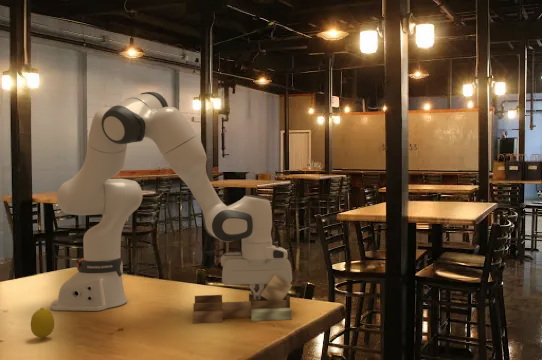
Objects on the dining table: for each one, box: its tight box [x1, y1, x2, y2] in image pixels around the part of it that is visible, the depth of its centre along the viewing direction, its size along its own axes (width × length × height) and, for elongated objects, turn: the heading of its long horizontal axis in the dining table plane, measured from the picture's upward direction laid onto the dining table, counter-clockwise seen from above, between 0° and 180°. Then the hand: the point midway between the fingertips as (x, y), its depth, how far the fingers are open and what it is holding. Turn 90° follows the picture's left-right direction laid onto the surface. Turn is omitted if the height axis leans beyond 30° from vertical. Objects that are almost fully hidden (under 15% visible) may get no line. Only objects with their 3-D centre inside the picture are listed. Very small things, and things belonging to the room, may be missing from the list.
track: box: [192, 292, 292, 324], centre depth 165 cm, size 27×16×6 cm, turn 95°
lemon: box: [30, 307, 55, 340], centre depth 143 cm, size 6×6×8 cm
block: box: [261, 274, 293, 301], centre depth 165 cm, size 6×6×7 cm
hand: (257, 299), depth 165 cm, fingers closed
